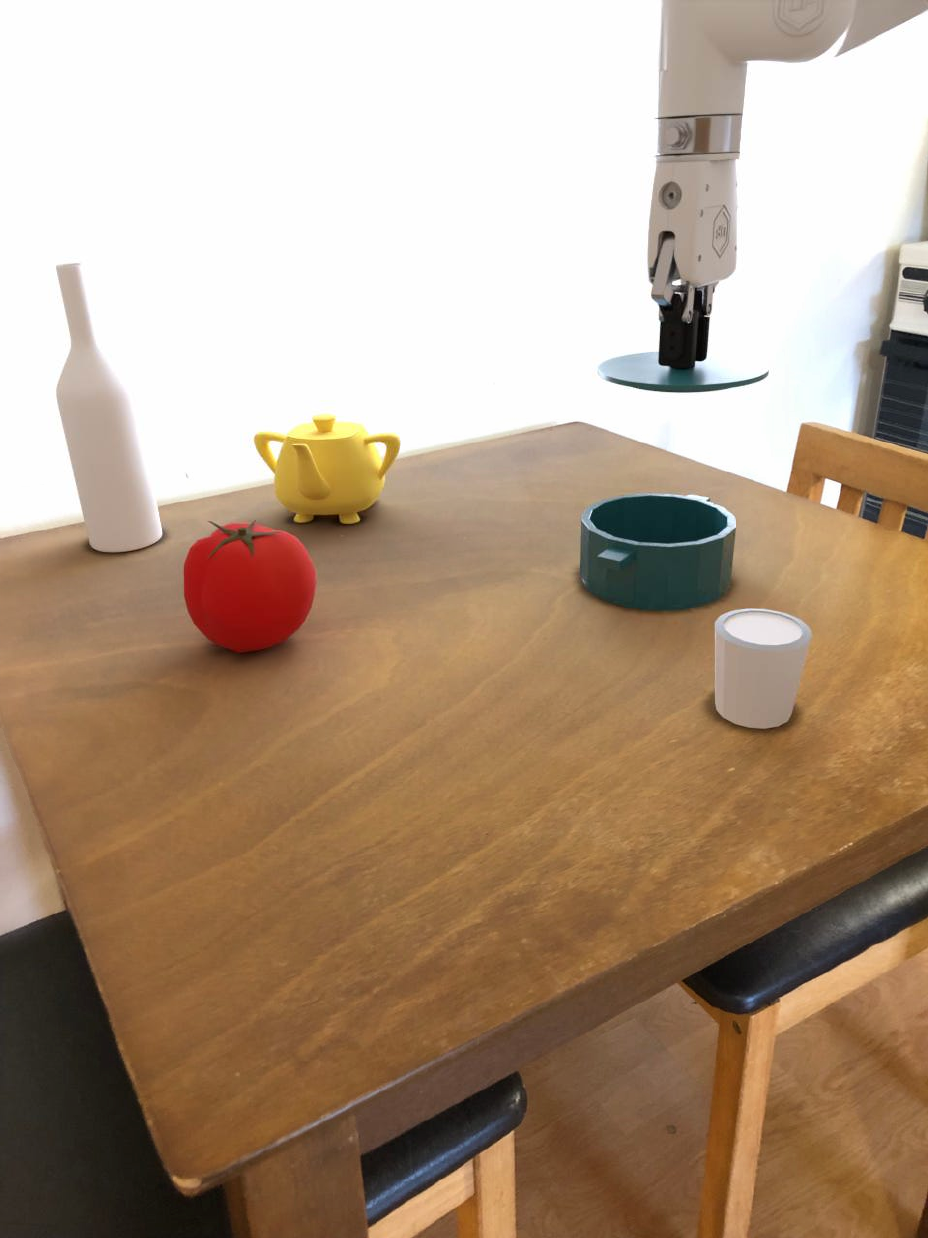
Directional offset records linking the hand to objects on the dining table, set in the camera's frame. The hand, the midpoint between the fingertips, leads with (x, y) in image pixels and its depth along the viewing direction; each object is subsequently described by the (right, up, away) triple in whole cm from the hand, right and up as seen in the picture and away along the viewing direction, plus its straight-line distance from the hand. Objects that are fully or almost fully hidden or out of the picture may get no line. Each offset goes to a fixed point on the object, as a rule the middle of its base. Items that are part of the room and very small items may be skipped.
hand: (682, 361), depth 87 cm
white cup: (+2, -31, -16) cm, 35 cm away
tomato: (-39, -26, -3) cm, 47 cm away
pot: (-1, -20, +6) cm, 21 cm away
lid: (0, -1, 0) cm, 1 cm away
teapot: (-37, -12, +26) cm, 47 cm away
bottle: (-60, -15, +21) cm, 65 cm away
